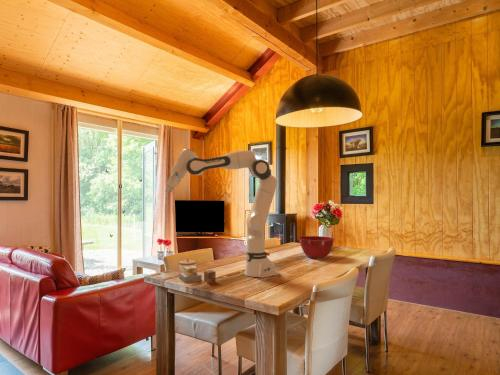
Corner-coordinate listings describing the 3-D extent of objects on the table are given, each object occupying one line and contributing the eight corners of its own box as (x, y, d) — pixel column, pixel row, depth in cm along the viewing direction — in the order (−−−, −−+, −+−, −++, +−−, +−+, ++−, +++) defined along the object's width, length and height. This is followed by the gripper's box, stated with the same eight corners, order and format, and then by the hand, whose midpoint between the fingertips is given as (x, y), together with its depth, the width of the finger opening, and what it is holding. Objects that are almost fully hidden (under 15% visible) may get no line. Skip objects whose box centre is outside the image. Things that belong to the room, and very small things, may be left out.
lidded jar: (179, 276, 194) (179, 261, 195) (178, 272, 205) (178, 257, 205) (197, 275, 197) (197, 260, 197) (195, 271, 208) (195, 257, 208)
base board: (195, 276, 196) (195, 271, 196) (201, 280, 187) (201, 275, 187) (179, 278, 191) (179, 273, 191) (184, 282, 182) (184, 277, 182)
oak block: (193, 272, 193) (193, 265, 193) (197, 274, 188) (197, 267, 188) (183, 273, 190) (183, 266, 190) (187, 275, 185) (187, 268, 185)
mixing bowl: (292, 254, 270) (292, 236, 270) (322, 253, 279) (322, 235, 279) (308, 261, 243) (308, 241, 243) (341, 259, 252) (341, 239, 252)
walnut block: (211, 280, 188) (212, 269, 188) (215, 282, 183) (215, 271, 184) (203, 281, 185) (204, 270, 185) (207, 283, 181) (207, 272, 181)
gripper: (180, 173, 189) (169, 194, 189) (184, 176, 210) (175, 194, 209) (170, 169, 189) (159, 190, 188) (176, 171, 209) (166, 190, 209)
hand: (167, 192), depth 199 cm, fingers open, 8 cm apart
